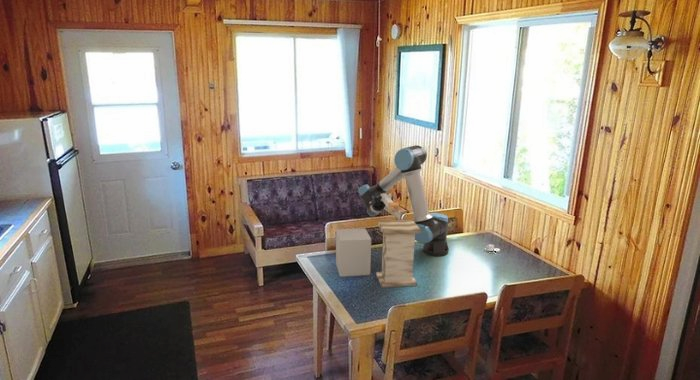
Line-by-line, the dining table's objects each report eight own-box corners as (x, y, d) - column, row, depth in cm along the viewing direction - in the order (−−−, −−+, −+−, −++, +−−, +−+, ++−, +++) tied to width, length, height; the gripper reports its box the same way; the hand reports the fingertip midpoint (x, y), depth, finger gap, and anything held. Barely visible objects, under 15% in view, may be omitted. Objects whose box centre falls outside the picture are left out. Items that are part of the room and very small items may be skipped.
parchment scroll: (375, 274, 236) (377, 221, 228) (409, 272, 239) (412, 219, 231) (382, 287, 223) (384, 230, 215) (417, 285, 226) (420, 229, 217)
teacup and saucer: (500, 251, 270) (501, 245, 269) (496, 255, 264) (497, 249, 263) (486, 247, 275) (486, 241, 274) (482, 252, 268) (482, 245, 267)
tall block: (364, 261, 251) (365, 228, 246) (370, 274, 236) (371, 239, 231) (335, 263, 249) (336, 229, 243) (339, 276, 233) (340, 240, 228)
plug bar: (379, 199, 250) (379, 192, 249) (387, 198, 251) (387, 191, 250) (390, 212, 227) (390, 204, 226) (398, 212, 228) (399, 204, 227)
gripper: (391, 211, 264) (402, 201, 242) (364, 212, 262) (373, 202, 239) (390, 198, 266) (401, 188, 244) (363, 199, 264) (372, 189, 241)
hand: (387, 195), depth 242 cm, fingers closed on plug bar, 3 cm apart
